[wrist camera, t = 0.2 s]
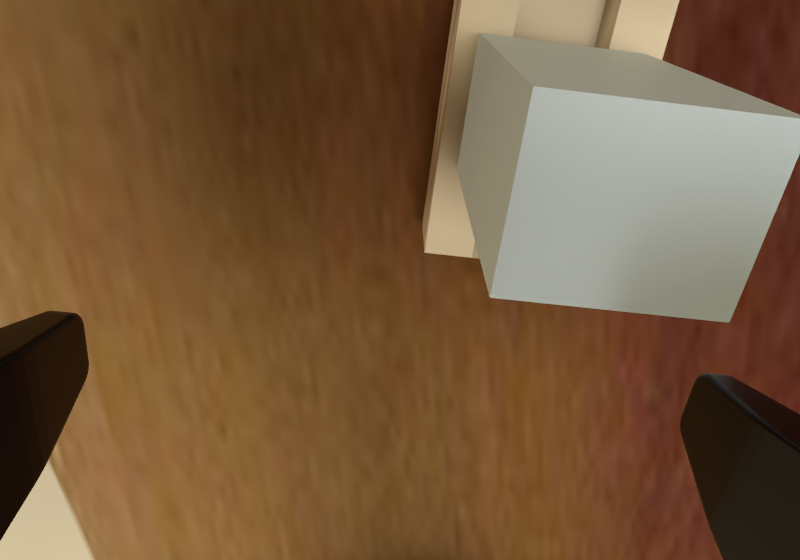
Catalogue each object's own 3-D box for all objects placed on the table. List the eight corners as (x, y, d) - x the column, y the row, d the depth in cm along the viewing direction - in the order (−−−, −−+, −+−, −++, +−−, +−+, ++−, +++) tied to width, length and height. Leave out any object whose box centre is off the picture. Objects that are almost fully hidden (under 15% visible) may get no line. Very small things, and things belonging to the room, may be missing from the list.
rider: (596, 174, 21) (729, 322, 12) (453, 157, 21) (489, 297, 12) (630, 47, 19) (814, 120, 11) (474, 28, 19) (533, 86, 10)
